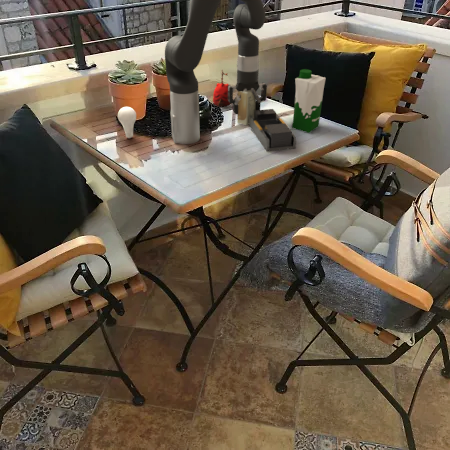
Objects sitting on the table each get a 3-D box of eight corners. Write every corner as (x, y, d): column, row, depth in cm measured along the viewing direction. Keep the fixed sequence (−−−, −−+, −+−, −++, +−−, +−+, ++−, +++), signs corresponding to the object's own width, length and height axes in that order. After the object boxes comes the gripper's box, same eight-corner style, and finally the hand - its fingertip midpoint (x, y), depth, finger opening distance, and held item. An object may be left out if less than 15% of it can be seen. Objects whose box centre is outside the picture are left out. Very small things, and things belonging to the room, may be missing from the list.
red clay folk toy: (232, 102, 191) (233, 65, 183) (230, 109, 186) (231, 70, 177) (214, 102, 192) (213, 64, 184) (211, 108, 186) (211, 70, 178)
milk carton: (300, 120, 176) (306, 66, 165) (322, 126, 172) (329, 71, 160) (288, 128, 171) (293, 72, 159) (310, 134, 166) (317, 77, 155)
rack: (266, 151, 155) (267, 134, 152) (249, 126, 172) (249, 110, 168) (295, 148, 157) (297, 131, 154) (275, 124, 174) (276, 108, 170)
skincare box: (246, 117, 179) (247, 85, 172) (255, 120, 177) (257, 88, 170) (236, 123, 174) (237, 90, 167) (246, 125, 172) (247, 92, 165)
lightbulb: (142, 136, 165) (138, 105, 158) (132, 142, 160) (128, 111, 154) (127, 133, 167) (123, 102, 160) (117, 139, 162) (112, 108, 156)
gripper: (230, 72, 160) (230, 118, 169) (270, 69, 162) (268, 115, 172) (225, 65, 166) (225, 110, 175) (264, 63, 168) (262, 107, 178)
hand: (246, 112), depth 173 cm, fingers closed on skincare box, 7 cm apart
